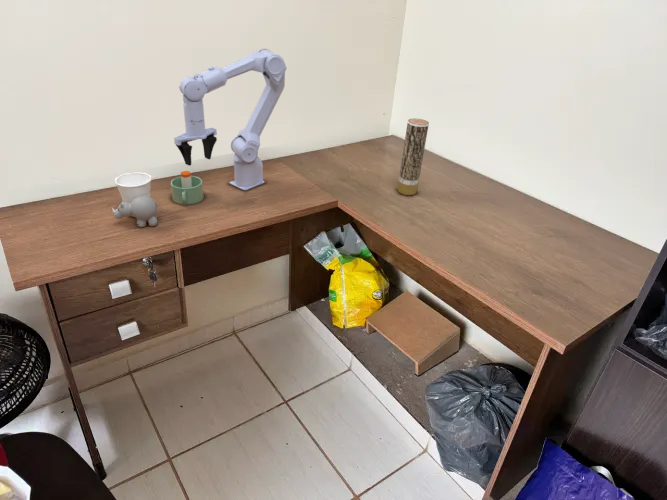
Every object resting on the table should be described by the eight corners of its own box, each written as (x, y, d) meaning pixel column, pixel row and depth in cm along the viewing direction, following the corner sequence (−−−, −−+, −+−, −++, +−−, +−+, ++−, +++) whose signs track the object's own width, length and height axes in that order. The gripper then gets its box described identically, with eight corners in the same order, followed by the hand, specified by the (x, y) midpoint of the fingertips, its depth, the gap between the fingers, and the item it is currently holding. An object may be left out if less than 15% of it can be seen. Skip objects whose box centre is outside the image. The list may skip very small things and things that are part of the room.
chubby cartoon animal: (117, 218, 140) (111, 192, 135) (160, 216, 142) (156, 190, 138) (113, 231, 134) (107, 204, 129) (158, 228, 137) (154, 201, 132)
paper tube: (416, 188, 171) (428, 119, 157) (416, 197, 165) (429, 126, 152) (397, 186, 171) (407, 117, 158) (397, 195, 165) (408, 124, 152)
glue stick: (189, 193, 155) (186, 170, 151) (195, 196, 154) (192, 172, 149) (181, 195, 153) (178, 172, 149) (187, 198, 152) (184, 175, 147)
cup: (114, 217, 140) (107, 183, 134) (133, 203, 148) (127, 170, 142) (145, 223, 138) (139, 188, 133) (163, 208, 147) (158, 174, 141)
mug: (175, 190, 157) (173, 175, 154) (205, 191, 158) (204, 175, 155) (168, 208, 147) (166, 192, 144) (200, 208, 148) (199, 192, 145)
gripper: (182, 127, 138) (187, 171, 146) (222, 117, 148) (224, 159, 156) (167, 121, 142) (172, 164, 149) (207, 112, 152) (210, 153, 159)
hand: (198, 161), depth 153 cm, fingers open, 7 cm apart
